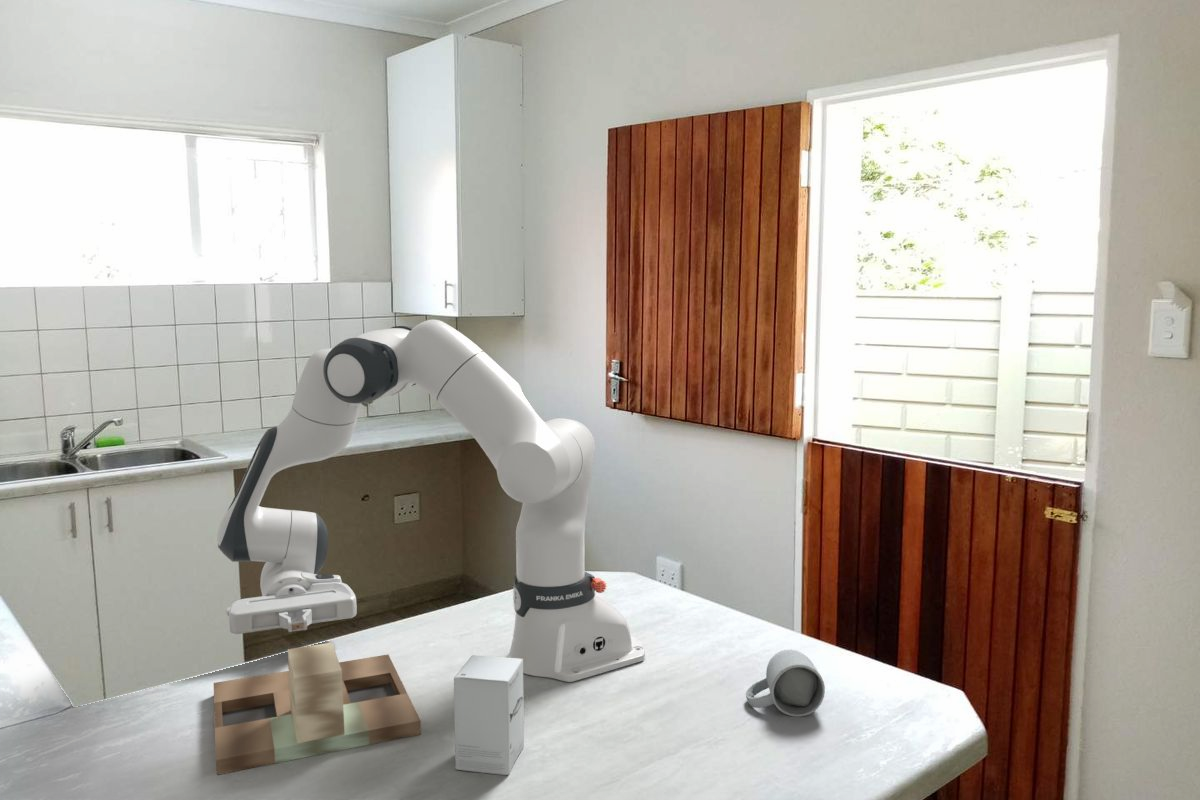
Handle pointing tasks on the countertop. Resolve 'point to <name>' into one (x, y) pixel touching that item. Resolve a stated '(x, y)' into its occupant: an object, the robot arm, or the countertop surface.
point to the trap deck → (265, 726)
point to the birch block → (316, 692)
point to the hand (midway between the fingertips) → (297, 626)
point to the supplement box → (489, 714)
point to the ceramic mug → (789, 685)
